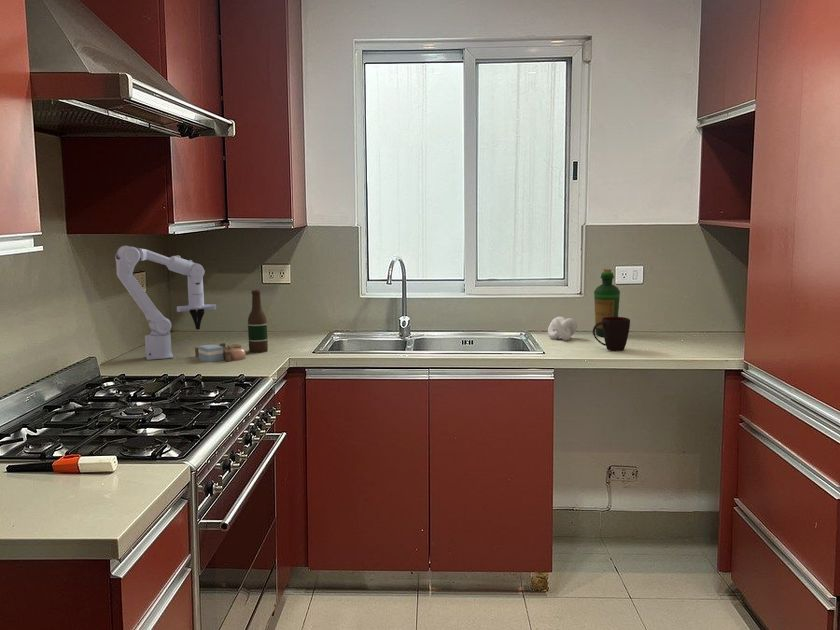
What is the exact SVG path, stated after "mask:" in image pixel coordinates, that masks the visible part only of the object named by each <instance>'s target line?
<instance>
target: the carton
mask: <svg viewBox="0 0 840 630" xmlns="http://www.w3.org/2000/svg"><path fill="white" fill-rule="evenodd" d="M197 347H198V353H199V357H198V359H199V360H201V361H204V362H206V363H207V362H208V363H211V362H217V361H223V360H224V361H225V359H224V358H223V347H221V346H220V345H218V344H213V343H212V344H204V345H198V346H197Z"/></svg>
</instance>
